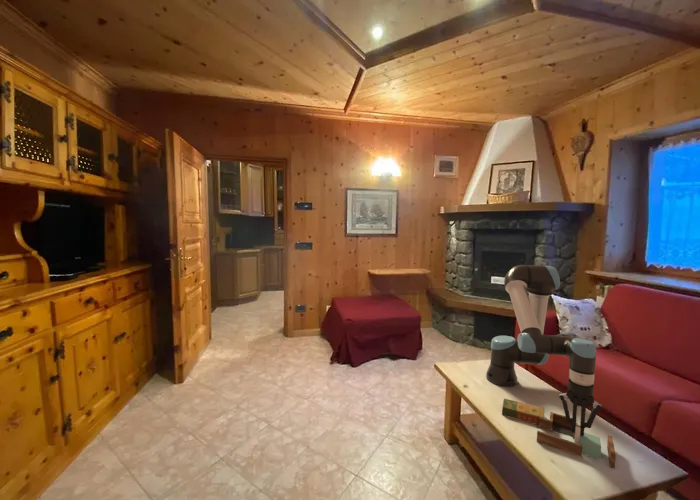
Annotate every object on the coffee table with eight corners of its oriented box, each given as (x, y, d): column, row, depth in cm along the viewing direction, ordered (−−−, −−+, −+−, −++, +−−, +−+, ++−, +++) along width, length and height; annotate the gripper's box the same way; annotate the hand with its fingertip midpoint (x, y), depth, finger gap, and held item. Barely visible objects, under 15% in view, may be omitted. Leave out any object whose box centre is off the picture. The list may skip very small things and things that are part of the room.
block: (578, 443, 119) (579, 430, 119) (598, 449, 115) (599, 437, 115) (579, 452, 114) (580, 439, 114) (600, 459, 111) (601, 446, 110)
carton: (544, 427, 129) (544, 417, 129) (501, 415, 137) (502, 406, 137) (543, 416, 136) (544, 407, 136) (503, 406, 144) (503, 397, 144)
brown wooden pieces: (540, 417, 135) (541, 406, 134) (609, 439, 121) (610, 426, 121) (536, 441, 120) (537, 429, 119) (614, 469, 106) (615, 455, 106)
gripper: (559, 380, 116) (555, 440, 118) (604, 391, 108) (599, 455, 110) (560, 372, 122) (556, 429, 124) (602, 382, 115) (598, 443, 116)
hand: (576, 441), depth 117 cm, fingers closed
